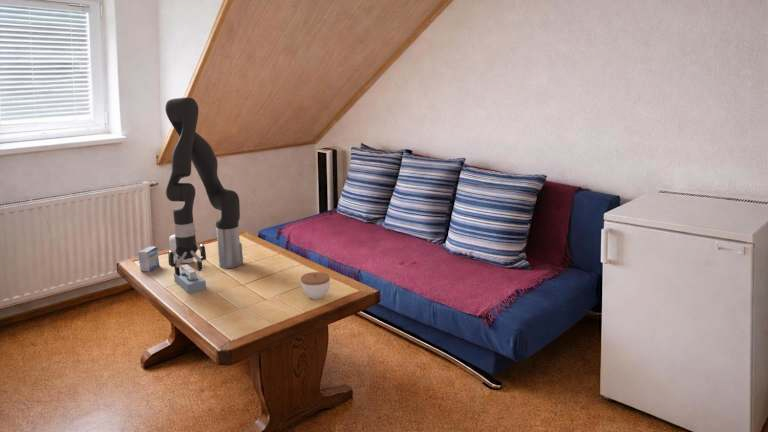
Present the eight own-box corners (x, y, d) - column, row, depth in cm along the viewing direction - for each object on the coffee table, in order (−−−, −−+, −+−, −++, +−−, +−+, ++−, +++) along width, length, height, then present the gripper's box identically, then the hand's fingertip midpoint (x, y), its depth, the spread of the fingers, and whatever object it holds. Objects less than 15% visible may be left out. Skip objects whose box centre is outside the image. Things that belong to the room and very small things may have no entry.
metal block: (188, 280, 254) (187, 264, 252) (197, 288, 246) (196, 271, 244) (182, 282, 252) (180, 265, 250) (191, 289, 244) (189, 272, 242)
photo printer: (169, 261, 275) (166, 234, 272) (176, 258, 279) (173, 232, 276) (189, 264, 272) (186, 237, 268) (195, 261, 276) (192, 234, 272)
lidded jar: (306, 303, 230) (305, 280, 228) (298, 293, 240) (297, 270, 237) (334, 299, 234) (333, 275, 232) (325, 288, 244) (324, 266, 241)
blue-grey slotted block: (191, 277, 257) (190, 269, 256) (206, 289, 245) (205, 280, 244) (174, 281, 253) (173, 272, 252) (188, 293, 241) (187, 284, 240)
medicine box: (149, 272, 263) (147, 252, 261) (140, 271, 264) (137, 251, 262) (159, 265, 271) (157, 246, 268) (150, 264, 272) (148, 245, 269)
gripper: (199, 228, 250) (203, 266, 254) (163, 234, 242) (167, 274, 246) (206, 232, 244) (210, 271, 249) (169, 239, 236) (174, 280, 241)
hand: (188, 273), depth 248 cm, fingers open, 8 cm apart
